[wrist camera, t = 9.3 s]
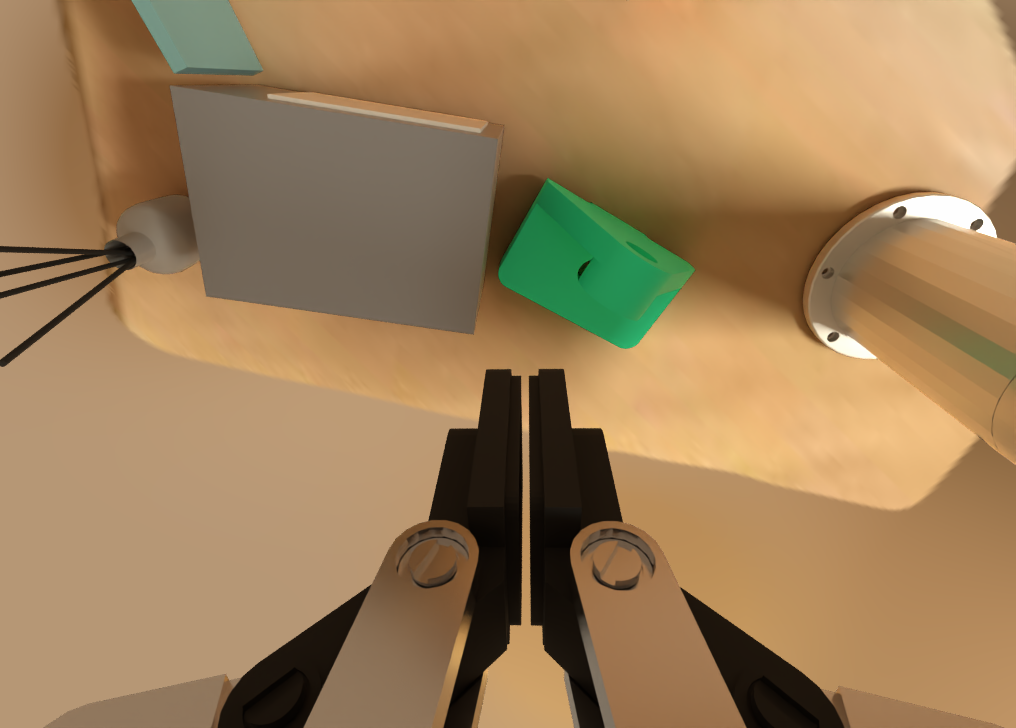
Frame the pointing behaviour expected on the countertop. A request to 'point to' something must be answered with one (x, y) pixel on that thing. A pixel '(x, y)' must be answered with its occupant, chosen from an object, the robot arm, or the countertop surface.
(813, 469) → the countertop surface
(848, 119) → the countertop surface
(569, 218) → the camera mount
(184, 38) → the side door
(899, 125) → the countertop surface
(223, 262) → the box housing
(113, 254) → the reed diffuser
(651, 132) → the countertop surface
